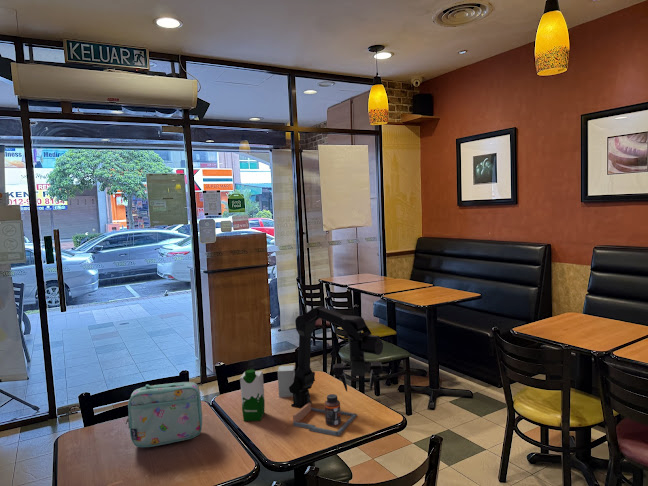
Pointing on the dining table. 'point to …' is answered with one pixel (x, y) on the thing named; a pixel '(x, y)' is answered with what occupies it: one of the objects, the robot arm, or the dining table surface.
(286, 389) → the supplement box
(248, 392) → the milk carton
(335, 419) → the supplement bottle
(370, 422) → the dining table surface
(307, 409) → the grey flat frame
